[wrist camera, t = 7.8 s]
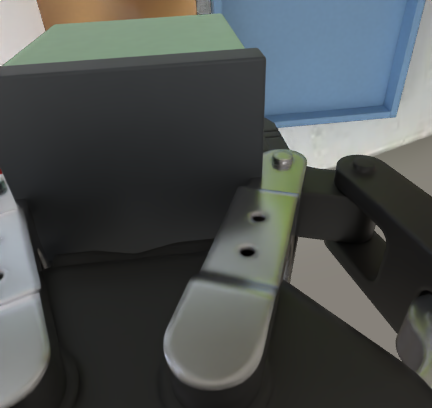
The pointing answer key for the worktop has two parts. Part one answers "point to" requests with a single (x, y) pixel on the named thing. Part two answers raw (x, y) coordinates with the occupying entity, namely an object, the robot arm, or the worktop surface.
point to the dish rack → (110, 10)
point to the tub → (131, 130)
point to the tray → (328, 55)
